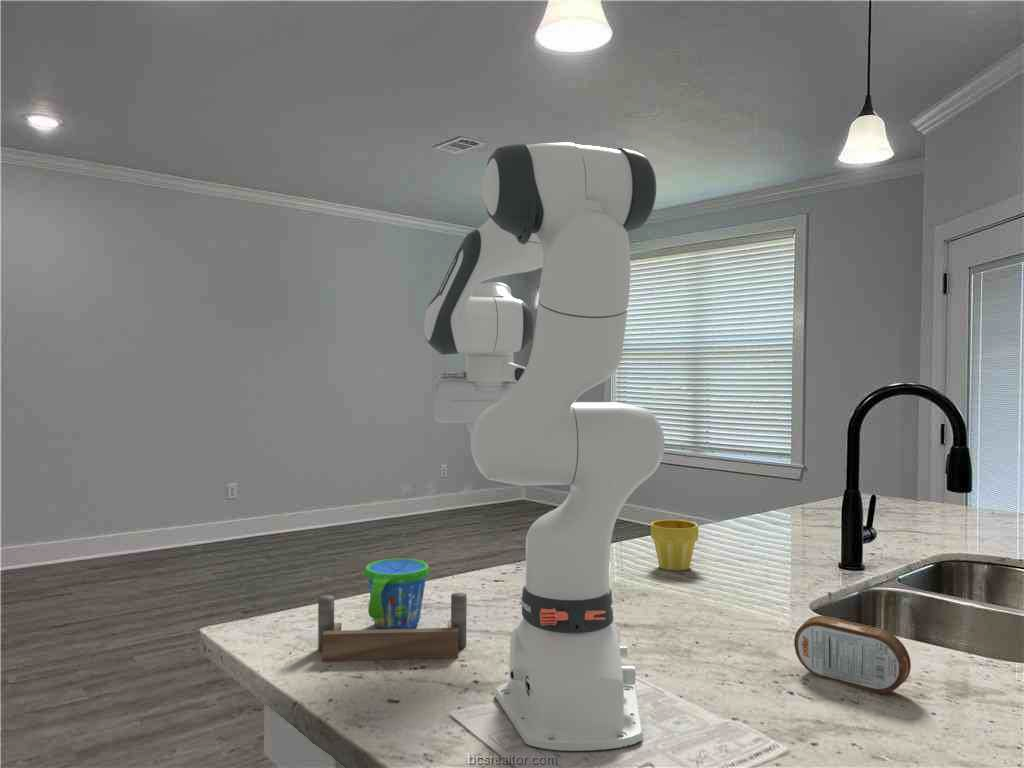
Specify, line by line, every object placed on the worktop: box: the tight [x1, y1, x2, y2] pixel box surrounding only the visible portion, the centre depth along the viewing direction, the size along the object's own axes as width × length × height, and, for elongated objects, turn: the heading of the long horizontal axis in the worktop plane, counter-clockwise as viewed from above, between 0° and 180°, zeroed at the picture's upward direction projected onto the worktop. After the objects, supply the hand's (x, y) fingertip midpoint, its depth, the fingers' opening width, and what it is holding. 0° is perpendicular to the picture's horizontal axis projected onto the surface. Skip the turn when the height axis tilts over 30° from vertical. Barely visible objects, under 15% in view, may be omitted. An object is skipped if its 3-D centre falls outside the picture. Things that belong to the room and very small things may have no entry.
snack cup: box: [364, 557, 430, 630], centre depth 129 cm, size 16×10×10 cm
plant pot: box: [650, 519, 699, 572], centre depth 170 cm, size 10×10×10 cm
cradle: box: [317, 592, 468, 662], centre depth 119 cm, size 10×23×8 cm, turn 95°
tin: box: [793, 615, 912, 694], centre depth 106 cm, size 15×3×8 cm, turn 48°
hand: (488, 447), depth 140 cm, fingers open, 3 cm apart
